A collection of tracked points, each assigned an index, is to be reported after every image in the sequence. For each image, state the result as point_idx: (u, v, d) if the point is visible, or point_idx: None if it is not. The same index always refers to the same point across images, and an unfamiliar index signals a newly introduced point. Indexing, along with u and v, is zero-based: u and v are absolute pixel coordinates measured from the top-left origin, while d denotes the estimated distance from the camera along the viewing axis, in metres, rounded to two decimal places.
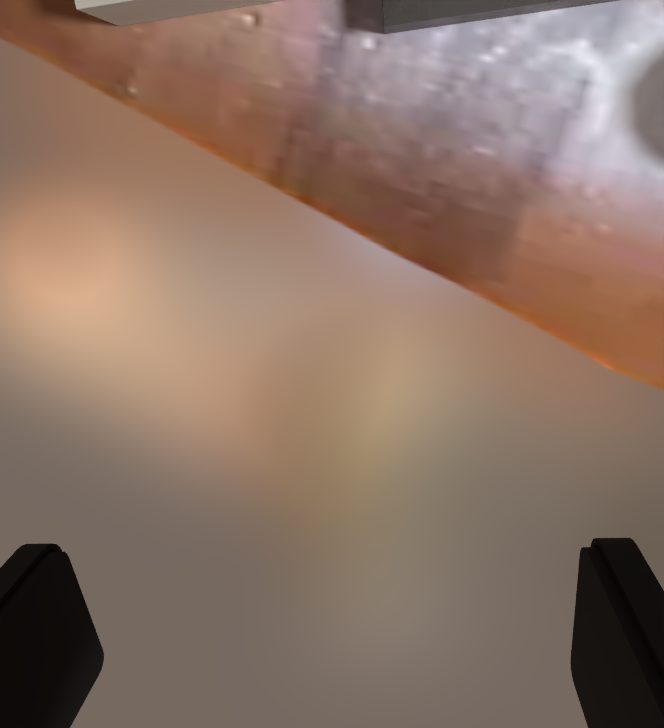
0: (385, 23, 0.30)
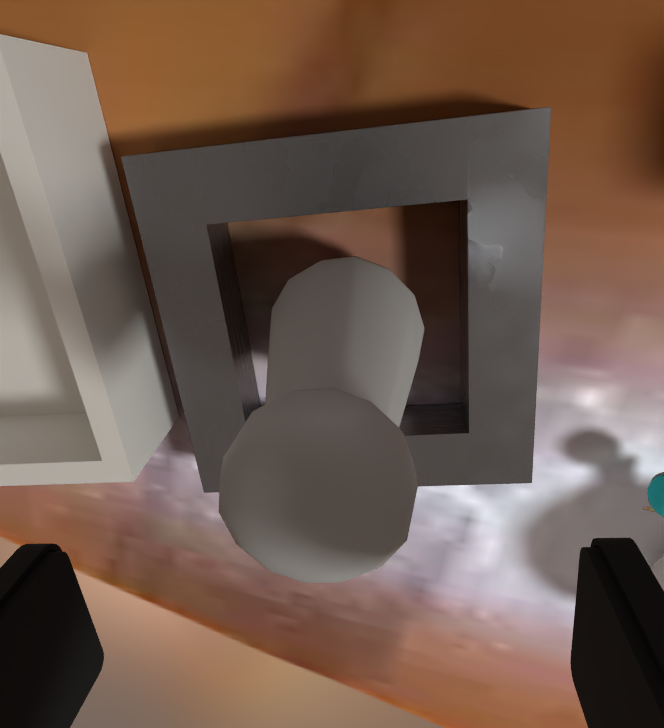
0: (205, 489, 0.24)
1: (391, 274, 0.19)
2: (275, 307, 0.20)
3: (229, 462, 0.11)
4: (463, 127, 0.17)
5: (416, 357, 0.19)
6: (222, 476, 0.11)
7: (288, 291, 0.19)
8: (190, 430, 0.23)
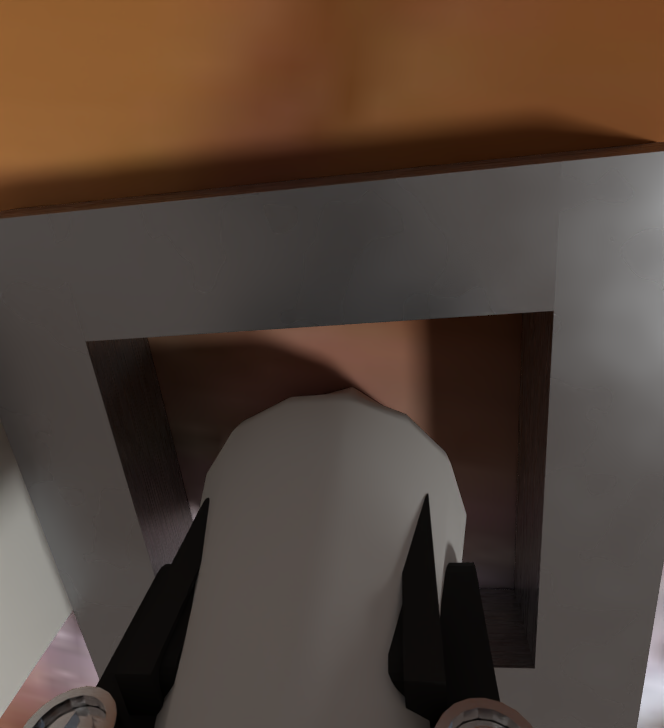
0: None
1: (410, 432, 0.11)
2: (208, 480, 0.11)
3: None
4: (553, 181, 0.09)
5: None
6: None
7: (226, 465, 0.10)
8: (87, 640, 0.14)
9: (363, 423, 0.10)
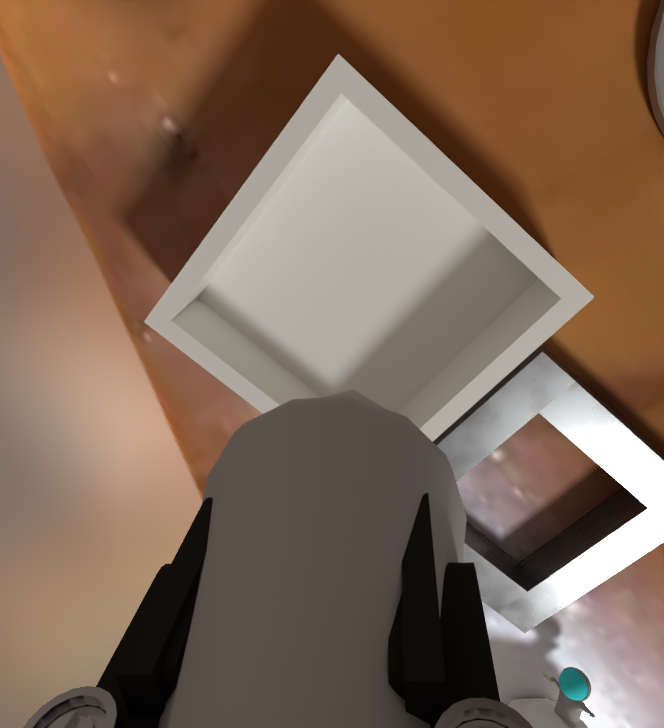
0: None
1: (411, 434, 0.11)
2: (210, 482, 0.11)
3: None
4: None
5: None
6: None
7: (227, 468, 0.10)
8: None
9: (364, 426, 0.10)
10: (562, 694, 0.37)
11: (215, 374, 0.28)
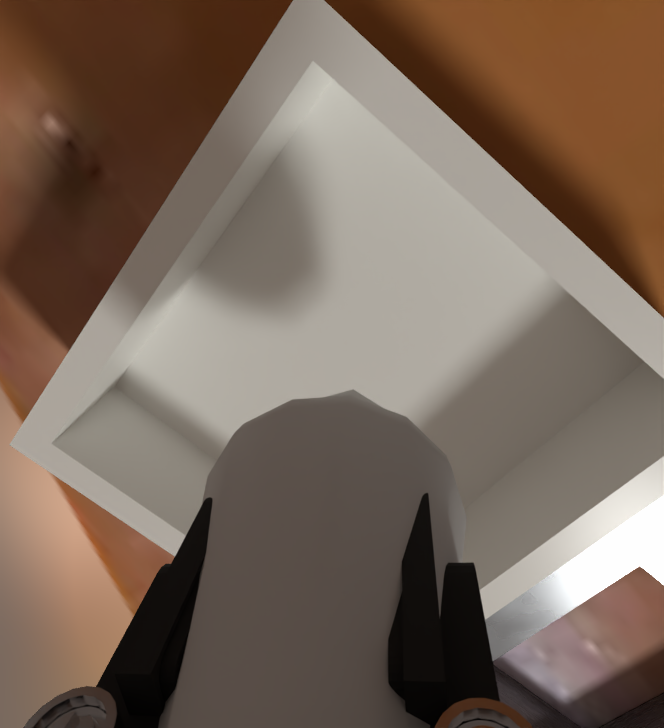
0: None
1: (411, 435, 0.11)
2: (210, 482, 0.11)
3: None
4: None
5: None
6: None
7: (227, 467, 0.10)
8: None
9: (364, 426, 0.10)
10: None
11: (129, 522, 0.17)
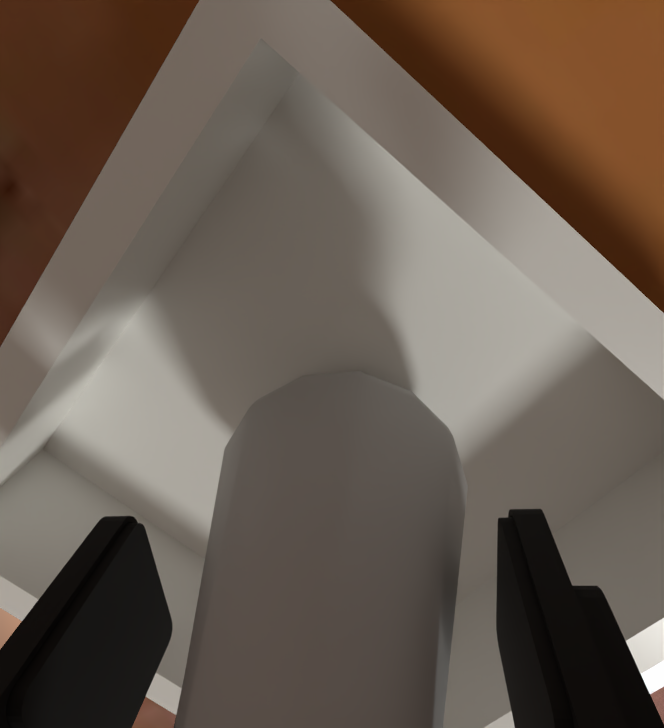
0: None
1: (416, 405, 0.12)
2: (227, 452, 0.12)
3: None
4: None
5: None
6: None
7: (245, 435, 0.11)
8: None
9: (372, 396, 0.11)
10: None
11: None
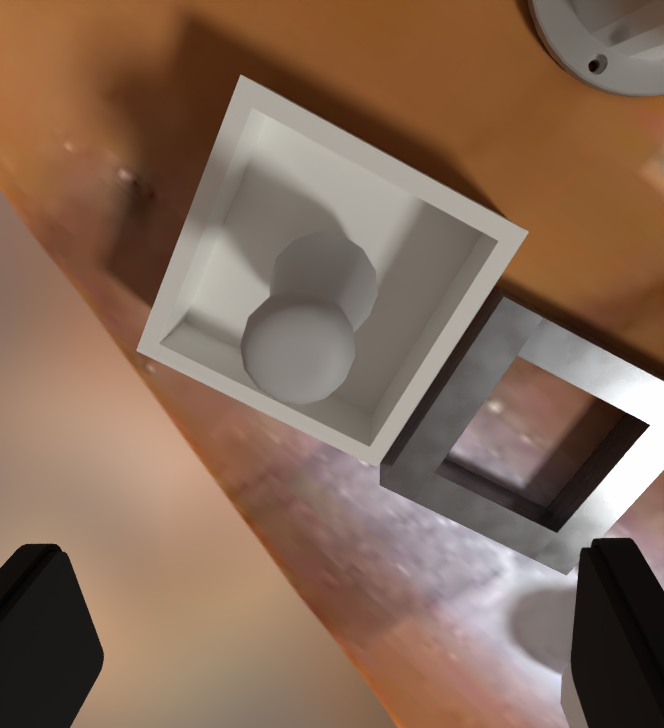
0: (382, 484, 0.35)
1: (343, 237, 0.28)
2: (271, 277, 0.29)
3: (243, 335, 0.20)
4: None
5: (369, 288, 0.27)
6: (241, 344, 0.20)
7: (276, 262, 0.28)
8: (405, 447, 0.33)
9: (323, 236, 0.28)
10: None
11: (209, 384, 0.30)
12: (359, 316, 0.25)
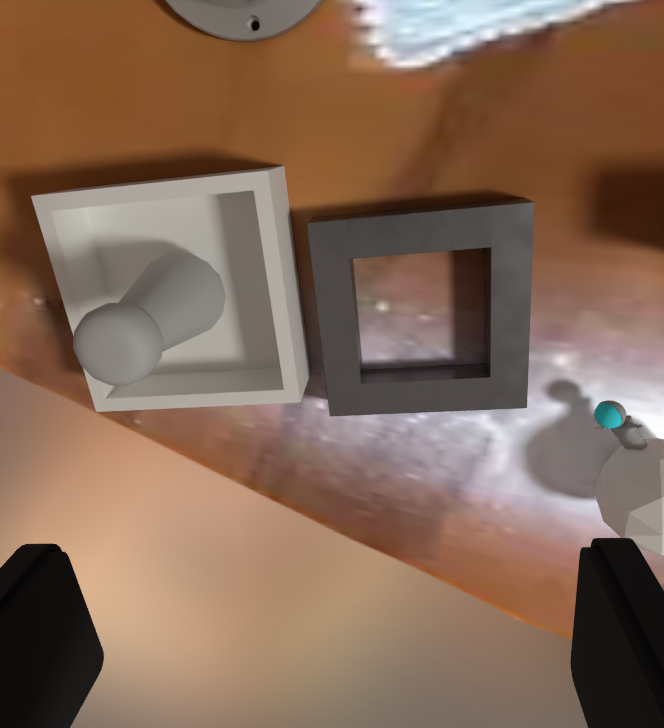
0: (331, 414, 0.40)
1: (168, 254, 0.35)
2: None
3: (77, 357, 0.28)
4: (489, 211, 0.33)
5: (198, 277, 0.34)
6: None
7: None
8: (326, 376, 0.39)
9: (154, 261, 0.35)
10: (613, 430, 0.38)
11: (153, 407, 0.38)
12: (183, 301, 0.32)
